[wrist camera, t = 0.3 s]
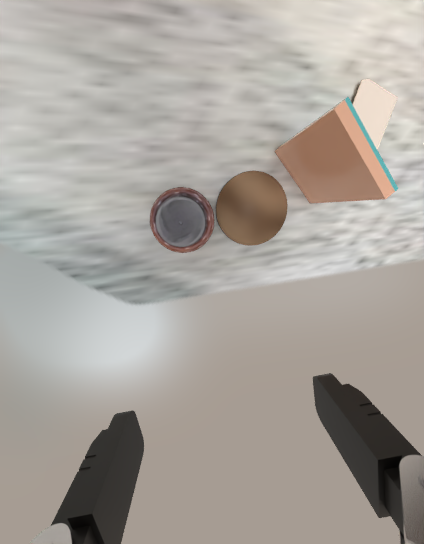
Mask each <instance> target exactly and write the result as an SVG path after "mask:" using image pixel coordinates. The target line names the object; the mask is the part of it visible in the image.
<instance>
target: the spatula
mask: <svg viewBox="0 0 424 544" xmlns="http://www.w3.org/2000/svg"><path fill="white" fill-rule="evenodd" d="M397 99H398V97H396V96H395V95H393V94H392V93H390V92H389V91H387V90H385V89H384V88H382V87H381V86H379V85H378V84H376V83H375V82H373V81H371V80H370V79H364V80H361V83H360V85H359V88H358V91H357V93H356V96H355V99H354V101H353V104H352V105H353V107H354V108H355V110H356V112H357V114H358V116H359V118H360V119H361V121H362V123H363V125H364V127H365V129H366V130H367V132H368V134H369V136H370V138H371V140H372V141H373V143H374V145H375V147H376V149H377V150H378V147H379V145H380V142H381V140H382V137H383V134H384V132H385V129H386V127H387V124H388V122H389V119H390V117H391V114H392V111H393V109H394V106H395V104H396V101H397ZM423 144H424V143H423Z"/></svg>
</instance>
